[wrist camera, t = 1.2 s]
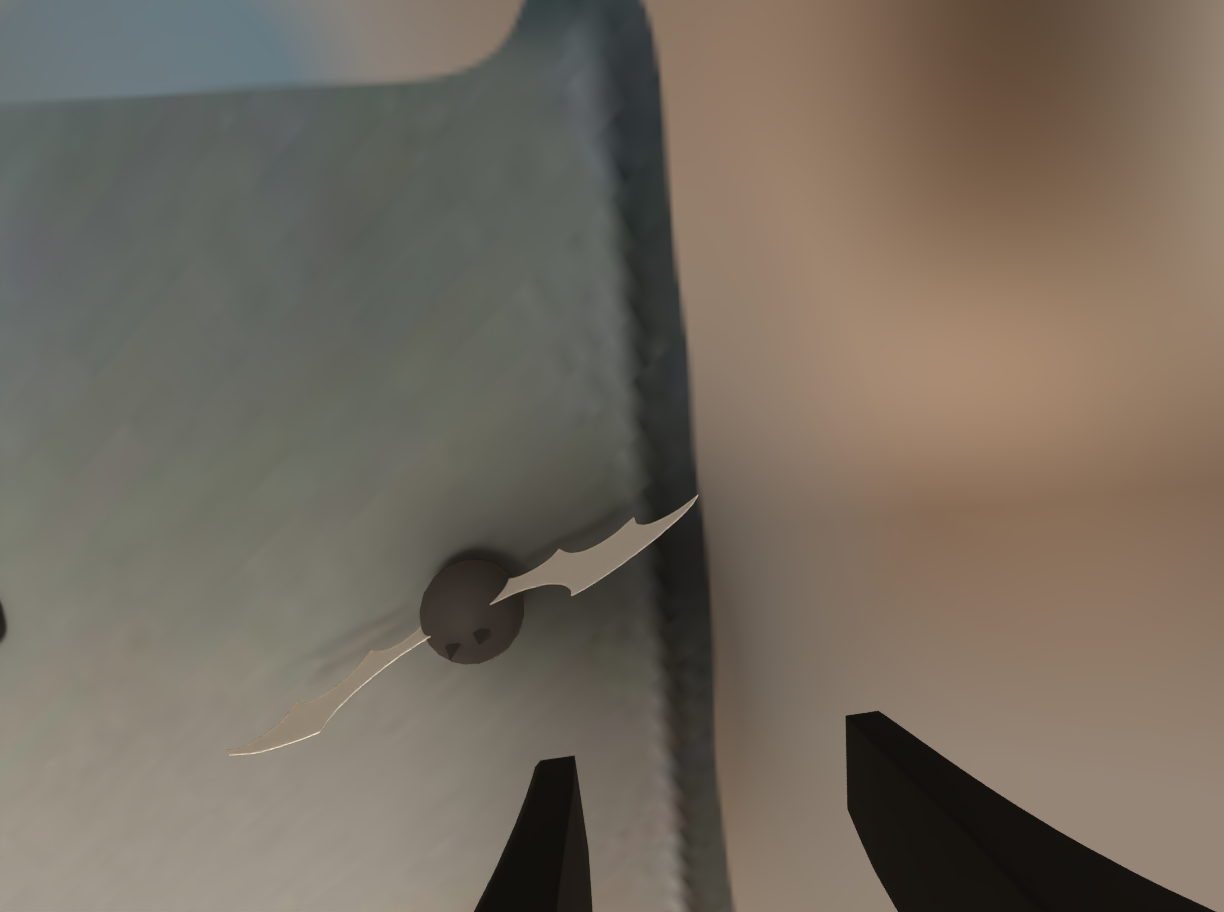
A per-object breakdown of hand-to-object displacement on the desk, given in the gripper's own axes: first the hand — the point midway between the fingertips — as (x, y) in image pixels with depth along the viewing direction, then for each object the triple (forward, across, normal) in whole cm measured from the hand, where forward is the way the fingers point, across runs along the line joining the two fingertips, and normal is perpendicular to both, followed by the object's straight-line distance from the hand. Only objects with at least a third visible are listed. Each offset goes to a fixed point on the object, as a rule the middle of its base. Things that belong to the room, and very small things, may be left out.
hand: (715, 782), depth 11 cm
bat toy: (+10, +6, 0) cm, 11 cm away
